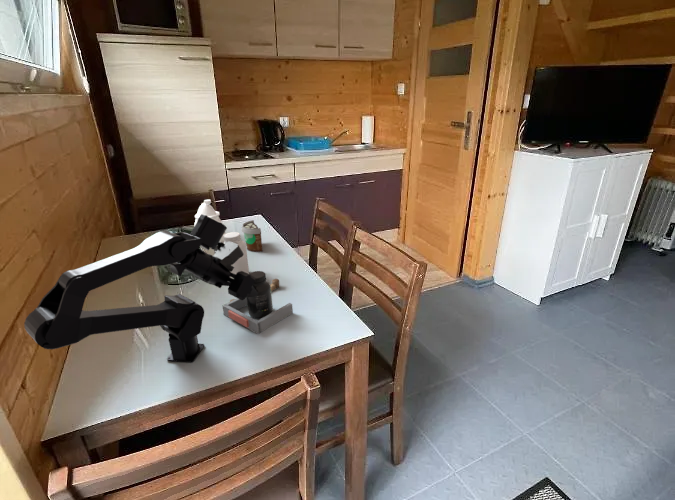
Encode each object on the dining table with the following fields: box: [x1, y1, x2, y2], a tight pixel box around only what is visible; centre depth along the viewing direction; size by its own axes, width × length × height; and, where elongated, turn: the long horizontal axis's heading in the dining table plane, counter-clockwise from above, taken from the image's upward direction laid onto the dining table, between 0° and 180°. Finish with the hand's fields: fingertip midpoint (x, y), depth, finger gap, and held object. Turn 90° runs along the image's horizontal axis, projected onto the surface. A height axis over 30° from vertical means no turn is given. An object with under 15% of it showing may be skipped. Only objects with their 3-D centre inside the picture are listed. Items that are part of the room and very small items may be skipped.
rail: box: [229, 278, 281, 302], centre depth 114 cm, size 18×2×2 cm, turn 140°
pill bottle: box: [223, 231, 250, 279], centre depth 126 cm, size 8×8×15 cm
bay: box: [222, 298, 294, 334], centre depth 105 cm, size 13×15×3 cm
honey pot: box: [193, 199, 226, 243], centre depth 158 cm, size 13×13×18 cm
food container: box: [241, 219, 263, 253], centre depth 150 cm, size 12×6×10 cm, turn 25°
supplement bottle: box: [246, 270, 274, 320], centre depth 104 cm, size 7×7×12 cm
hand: (245, 289), depth 100 cm, fingers open, 9 cm apart
